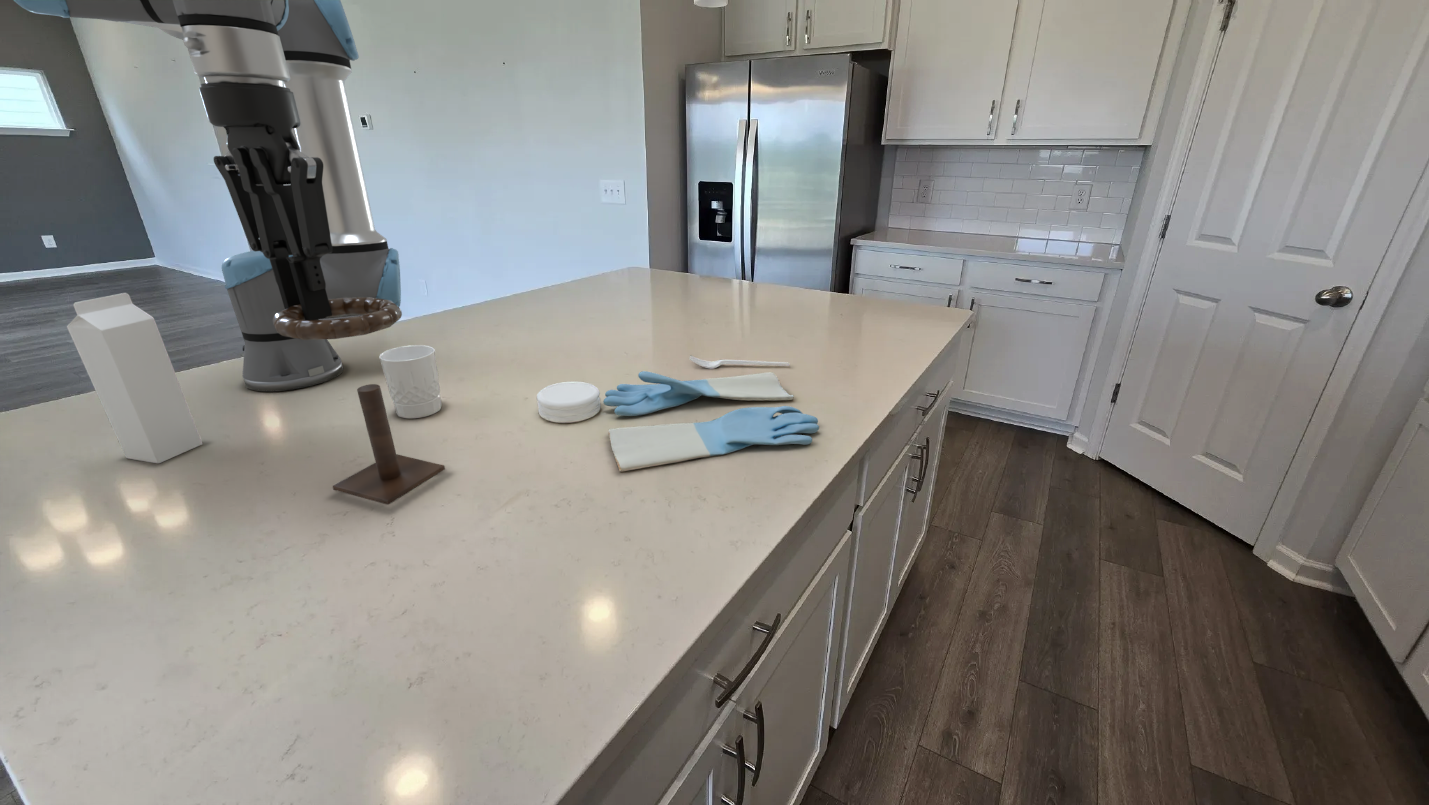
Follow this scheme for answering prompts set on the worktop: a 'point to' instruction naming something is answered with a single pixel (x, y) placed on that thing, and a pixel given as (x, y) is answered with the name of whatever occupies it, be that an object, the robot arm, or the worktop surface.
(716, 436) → the rubber gloves
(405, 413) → the white cup
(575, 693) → the worktop surface
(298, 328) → the ring
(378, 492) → the stand
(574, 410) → the white short cylinder
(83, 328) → the milk
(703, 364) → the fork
